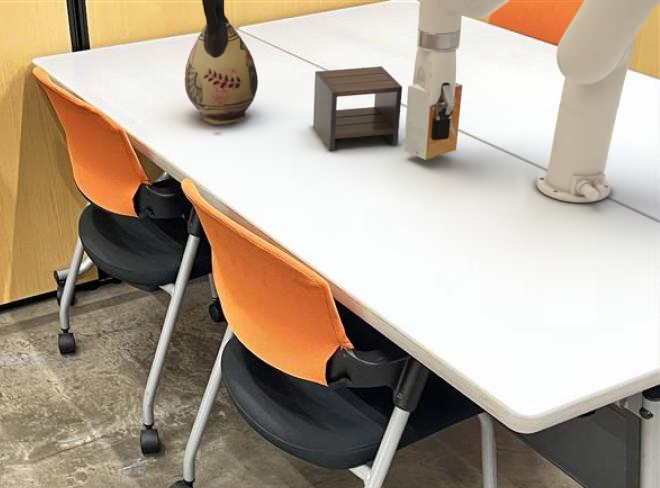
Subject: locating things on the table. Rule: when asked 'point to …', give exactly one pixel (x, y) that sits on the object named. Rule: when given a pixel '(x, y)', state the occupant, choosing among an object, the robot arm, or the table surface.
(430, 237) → the table surface
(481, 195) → the table surface
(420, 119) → the small box
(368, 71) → the rack
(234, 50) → the ceramic jug
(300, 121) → the table surface
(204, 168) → the table surface
